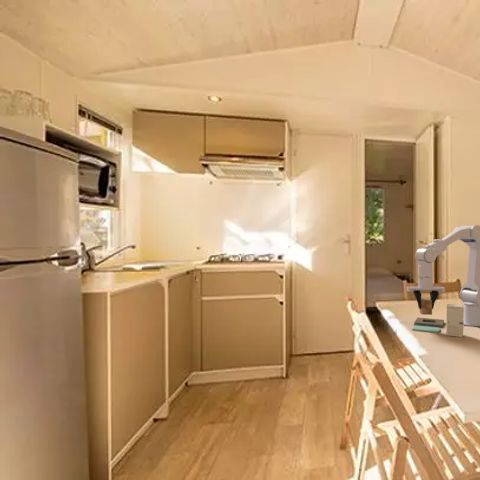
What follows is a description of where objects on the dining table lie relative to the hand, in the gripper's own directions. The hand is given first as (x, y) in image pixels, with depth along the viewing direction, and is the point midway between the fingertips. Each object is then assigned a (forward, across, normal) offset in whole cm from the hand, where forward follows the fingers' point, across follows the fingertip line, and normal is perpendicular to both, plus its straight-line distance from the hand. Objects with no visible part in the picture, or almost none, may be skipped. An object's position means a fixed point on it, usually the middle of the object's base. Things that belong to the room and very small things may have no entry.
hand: (425, 308), depth 163 cm
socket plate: (+9, -4, -11) cm, 15 cm away
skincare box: (+9, -9, +7) cm, 15 cm away
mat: (+9, 0, 0) cm, 9 cm away
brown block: (+2, 0, 0) cm, 2 cm away
